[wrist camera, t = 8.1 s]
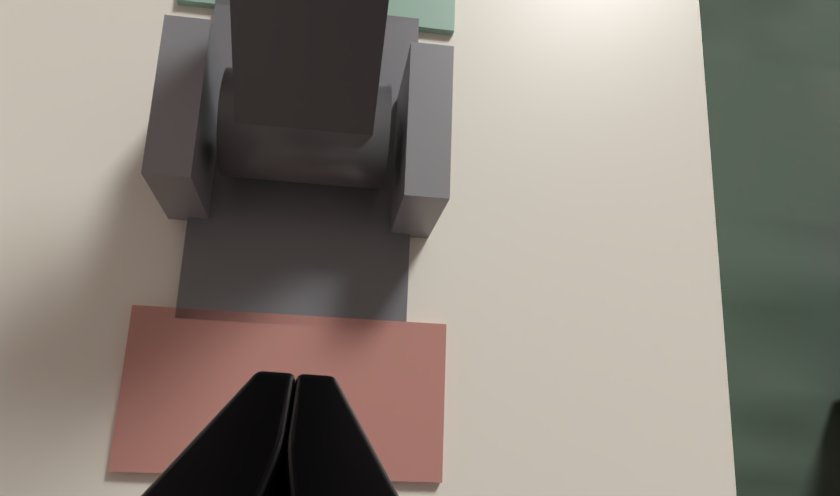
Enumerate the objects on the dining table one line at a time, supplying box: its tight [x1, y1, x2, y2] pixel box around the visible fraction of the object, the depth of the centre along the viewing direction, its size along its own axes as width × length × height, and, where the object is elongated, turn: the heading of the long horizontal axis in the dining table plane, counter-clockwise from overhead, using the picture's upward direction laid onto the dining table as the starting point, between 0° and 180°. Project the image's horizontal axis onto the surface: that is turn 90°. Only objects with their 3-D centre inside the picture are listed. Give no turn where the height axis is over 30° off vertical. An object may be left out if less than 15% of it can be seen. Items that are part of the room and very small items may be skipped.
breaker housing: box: [0, 0, 736, 496], centre depth 17 cm, size 14×18×8 cm
